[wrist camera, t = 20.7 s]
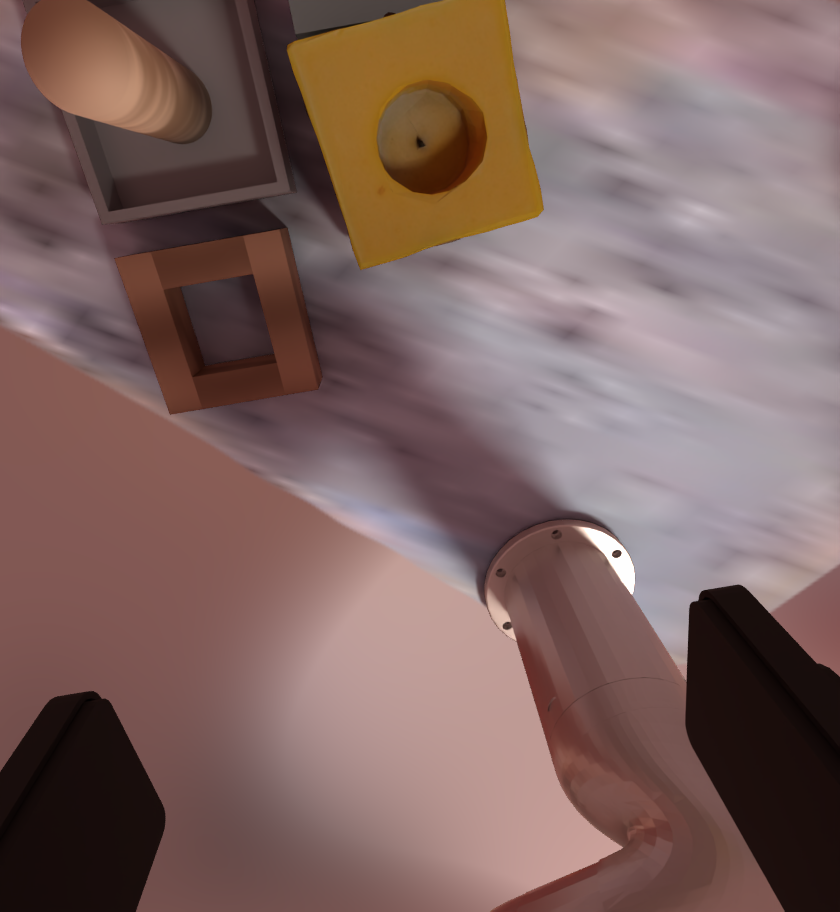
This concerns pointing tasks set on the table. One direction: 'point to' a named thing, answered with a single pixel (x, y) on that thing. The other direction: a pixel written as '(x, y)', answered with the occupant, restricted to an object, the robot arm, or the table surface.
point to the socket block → (173, 336)
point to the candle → (420, 126)
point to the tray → (230, 131)
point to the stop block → (342, 13)
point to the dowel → (111, 73)
